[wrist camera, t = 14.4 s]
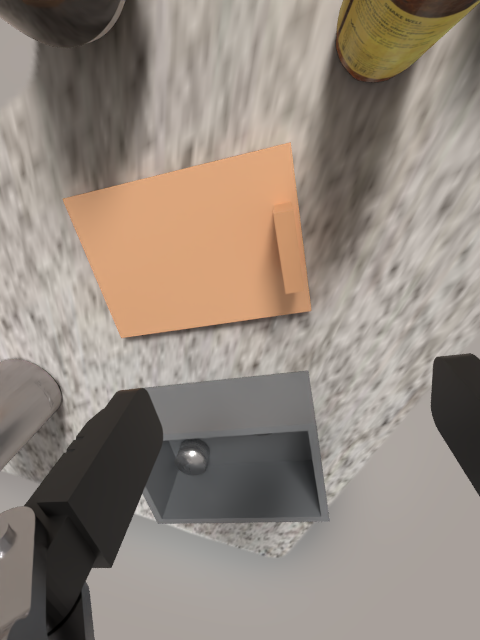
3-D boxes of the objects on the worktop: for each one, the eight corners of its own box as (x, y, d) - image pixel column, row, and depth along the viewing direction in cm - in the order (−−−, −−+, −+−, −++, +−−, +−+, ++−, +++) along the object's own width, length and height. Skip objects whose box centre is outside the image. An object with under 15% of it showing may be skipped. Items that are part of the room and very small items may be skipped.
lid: (127, 331, 35) (94, 366, 29) (72, 197, 29) (16, 205, 23) (309, 304, 32) (317, 338, 25) (289, 143, 26) (293, 135, 19)
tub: (177, 466, 44) (157, 523, 37) (144, 387, 38) (114, 438, 31) (320, 458, 40) (329, 521, 33) (308, 370, 35) (316, 423, 27)
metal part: (198, 463, 42) (193, 479, 40) (174, 448, 41) (168, 463, 39) (215, 450, 40) (212, 466, 38) (192, 433, 40) (186, 448, 38)
